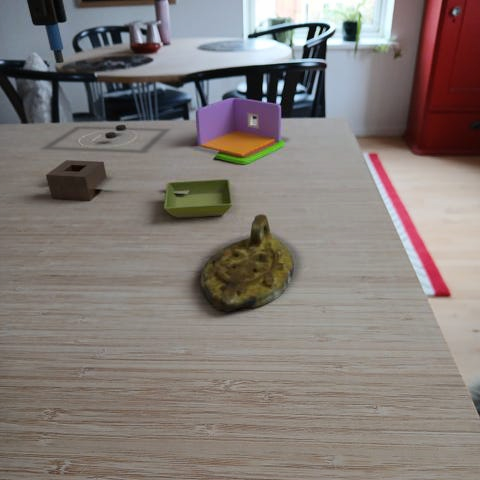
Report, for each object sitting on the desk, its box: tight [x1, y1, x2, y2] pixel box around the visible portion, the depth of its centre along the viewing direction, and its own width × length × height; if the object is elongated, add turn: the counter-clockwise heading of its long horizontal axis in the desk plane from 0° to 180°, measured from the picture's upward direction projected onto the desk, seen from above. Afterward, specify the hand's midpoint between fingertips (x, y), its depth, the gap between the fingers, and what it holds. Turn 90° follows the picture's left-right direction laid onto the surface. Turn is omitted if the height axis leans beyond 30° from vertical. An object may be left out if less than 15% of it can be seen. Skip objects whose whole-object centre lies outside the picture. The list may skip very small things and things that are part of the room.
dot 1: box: [104, 131, 117, 140], centre depth 89 cm, size 2×2×1 cm
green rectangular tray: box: [163, 178, 234, 219], centre depth 68 cm, size 9×9×2 cm
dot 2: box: [115, 124, 127, 132], centre depth 92 cm, size 2×2×1 cm
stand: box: [45, 159, 108, 202], centre depth 74 cm, size 6×6×4 cm
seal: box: [200, 213, 295, 312], centre depth 53 cm, size 9×5×15 cm
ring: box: [77, 128, 138, 149], centre depth 92 cm, size 18×12×1 cm, turn 77°
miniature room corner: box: [195, 97, 286, 165], centre depth 86 cm, size 12×12×7 cm
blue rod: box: [44, 23, 65, 64], centre depth 64 cm, size 2×2×10 cm
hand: (50, 22), depth 65 cm, fingers closed on blue rod, 1 cm apart
